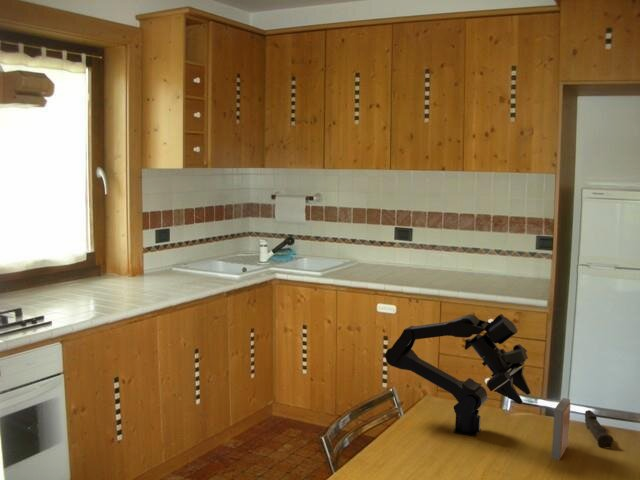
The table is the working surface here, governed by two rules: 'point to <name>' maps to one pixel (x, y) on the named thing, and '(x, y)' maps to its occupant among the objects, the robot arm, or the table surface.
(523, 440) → the table surface
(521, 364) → the robot arm
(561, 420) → the tile
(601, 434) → the dark brown rough rod
